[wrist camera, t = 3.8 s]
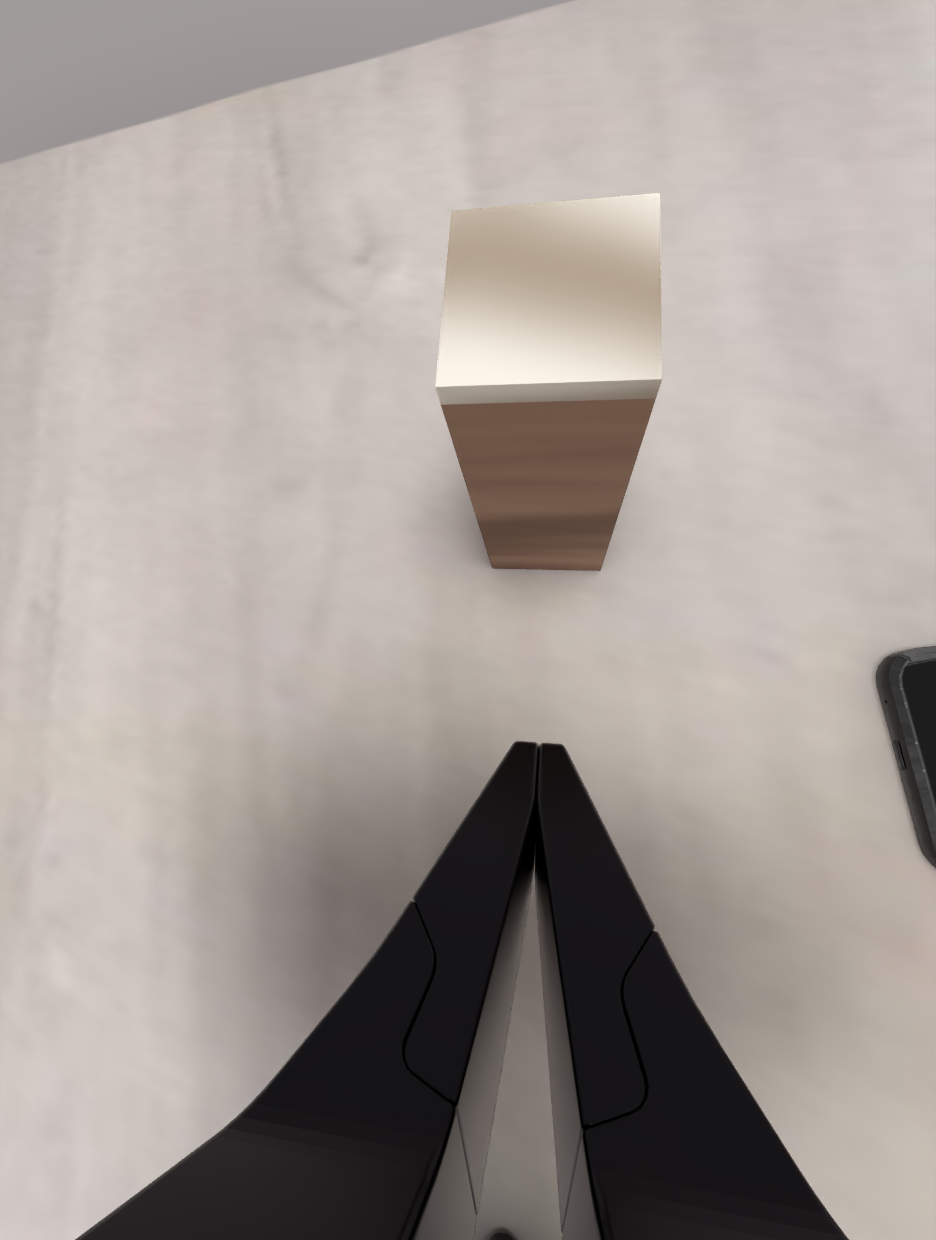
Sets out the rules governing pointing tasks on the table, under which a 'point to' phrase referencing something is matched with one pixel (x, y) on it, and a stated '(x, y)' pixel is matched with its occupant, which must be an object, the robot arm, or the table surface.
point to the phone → (914, 733)
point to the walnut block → (551, 369)
